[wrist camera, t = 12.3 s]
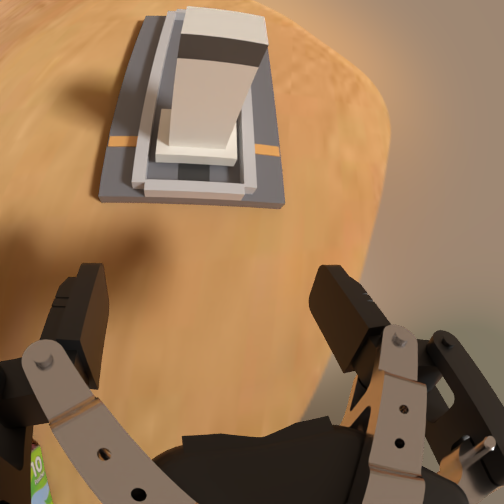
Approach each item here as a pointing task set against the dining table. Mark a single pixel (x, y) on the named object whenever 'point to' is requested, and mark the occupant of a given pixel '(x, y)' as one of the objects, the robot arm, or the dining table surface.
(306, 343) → the dining table surface
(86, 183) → the dining table surface
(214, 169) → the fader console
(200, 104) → the fader tab
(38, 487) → the snack box
